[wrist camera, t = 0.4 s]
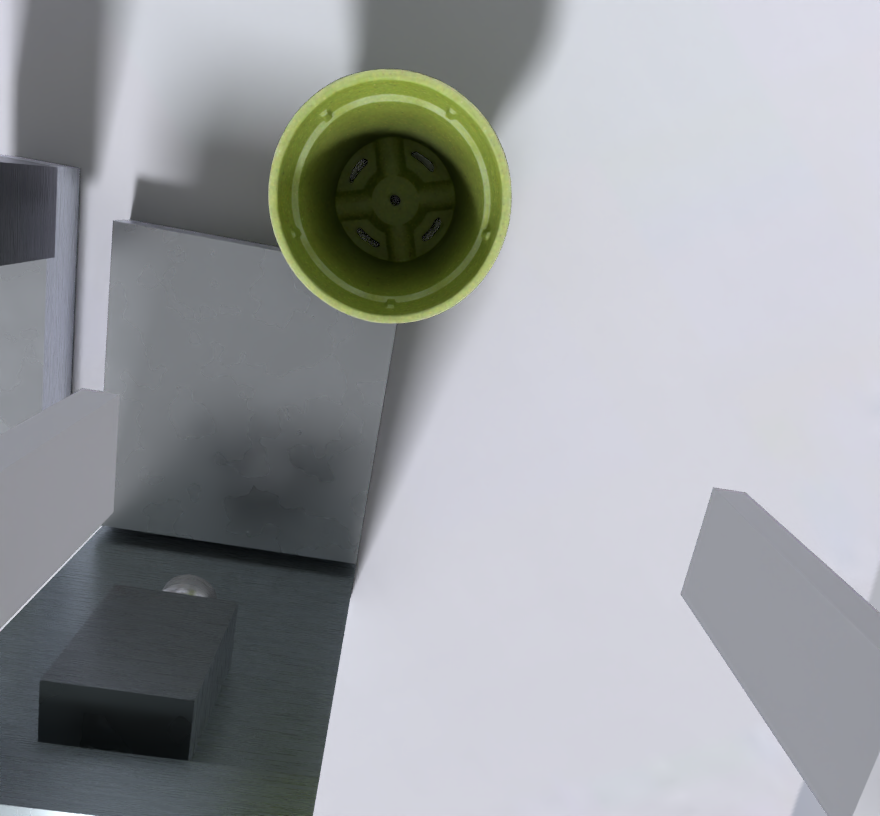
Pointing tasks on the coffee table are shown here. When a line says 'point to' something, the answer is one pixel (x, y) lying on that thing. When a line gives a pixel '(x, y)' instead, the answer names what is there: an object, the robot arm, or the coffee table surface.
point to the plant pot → (389, 195)
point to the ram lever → (27, 211)
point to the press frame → (190, 530)
